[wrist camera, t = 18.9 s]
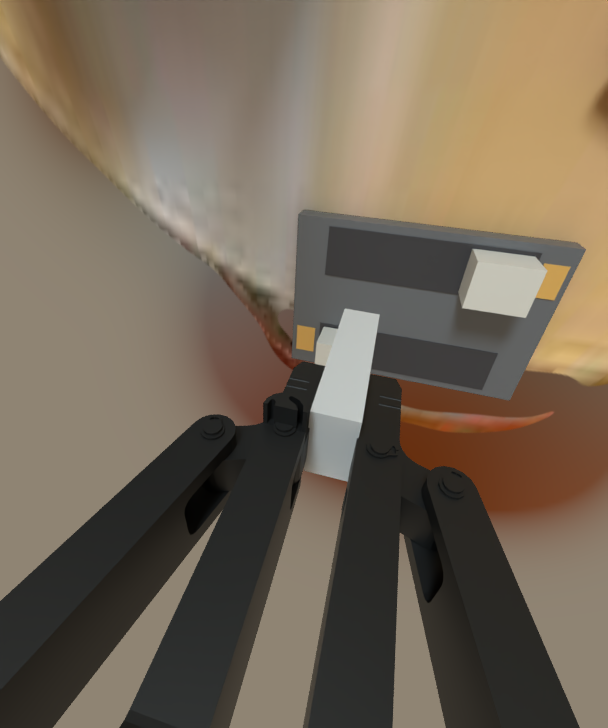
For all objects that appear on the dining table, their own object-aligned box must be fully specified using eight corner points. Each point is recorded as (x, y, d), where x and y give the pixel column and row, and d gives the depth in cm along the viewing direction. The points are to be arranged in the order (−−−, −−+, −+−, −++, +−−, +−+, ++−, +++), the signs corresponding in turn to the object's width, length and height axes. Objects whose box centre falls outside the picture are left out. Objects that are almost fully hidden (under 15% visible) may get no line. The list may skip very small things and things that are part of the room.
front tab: (458, 292, 33) (462, 307, 30) (472, 248, 31) (478, 261, 28) (516, 300, 32) (525, 318, 30) (535, 256, 30) (547, 270, 27)
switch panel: (296, 349, 44) (291, 358, 42) (303, 209, 35) (298, 214, 33) (505, 389, 40) (509, 400, 38) (577, 242, 31) (586, 249, 29)
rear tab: (320, 357, 41) (313, 374, 38) (323, 326, 39) (316, 342, 36) (364, 365, 40) (360, 384, 37) (370, 334, 38) (366, 351, 35)
